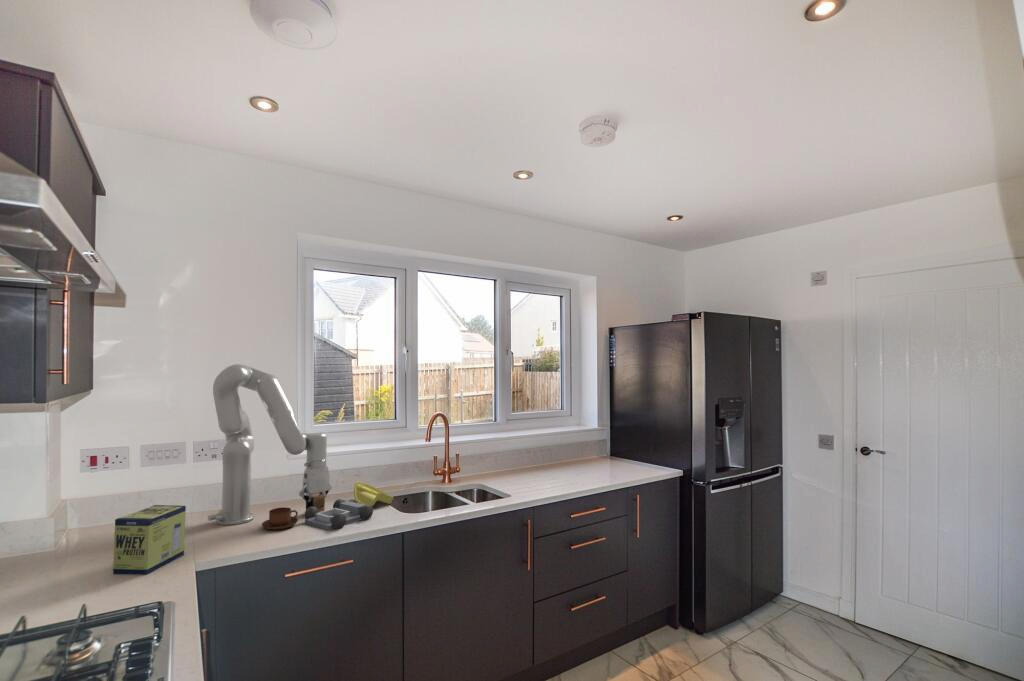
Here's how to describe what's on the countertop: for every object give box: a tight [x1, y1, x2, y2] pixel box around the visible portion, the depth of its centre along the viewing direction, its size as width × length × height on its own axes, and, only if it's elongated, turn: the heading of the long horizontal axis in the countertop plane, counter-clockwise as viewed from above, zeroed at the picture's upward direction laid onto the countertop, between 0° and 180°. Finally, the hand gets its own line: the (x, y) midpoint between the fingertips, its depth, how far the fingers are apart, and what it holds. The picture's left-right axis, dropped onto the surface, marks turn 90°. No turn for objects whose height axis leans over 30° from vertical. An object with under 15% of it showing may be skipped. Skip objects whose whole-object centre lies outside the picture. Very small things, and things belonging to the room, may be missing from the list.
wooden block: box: [311, 493, 326, 512], centre depth 203 cm, size 5×5×7 cm
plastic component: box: [353, 480, 394, 507], centre depth 219 cm, size 20×8×10 cm
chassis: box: [303, 498, 374, 531], centre depth 193 cm, size 20×18×5 cm
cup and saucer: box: [261, 507, 299, 531], centre depth 185 cm, size 12×12×6 cm
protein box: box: [112, 504, 187, 576], centre depth 150 cm, size 10×16×16 cm
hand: (315, 508), depth 203 cm, fingers closed on wooden block, 5 cm apart
